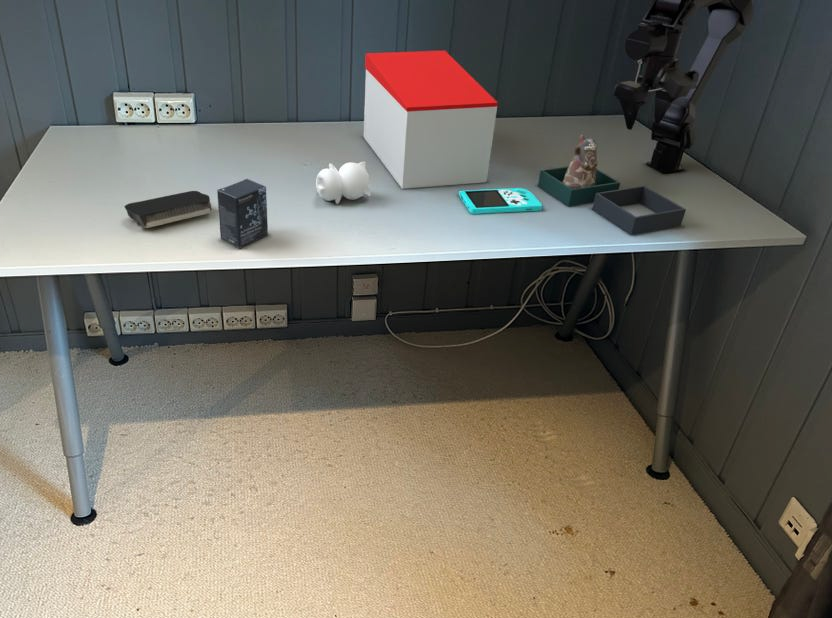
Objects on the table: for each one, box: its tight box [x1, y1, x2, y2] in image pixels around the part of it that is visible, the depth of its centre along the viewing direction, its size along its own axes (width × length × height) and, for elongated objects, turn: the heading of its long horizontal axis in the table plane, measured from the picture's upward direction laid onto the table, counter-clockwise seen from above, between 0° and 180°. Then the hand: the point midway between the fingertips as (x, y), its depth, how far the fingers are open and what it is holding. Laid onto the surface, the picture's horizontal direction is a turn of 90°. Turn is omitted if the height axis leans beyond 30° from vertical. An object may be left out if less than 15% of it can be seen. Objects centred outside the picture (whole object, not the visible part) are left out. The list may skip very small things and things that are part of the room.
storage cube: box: [363, 50, 499, 190], centre depth 175 cm, size 21×35×21 cm, turn 14°
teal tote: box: [537, 165, 621, 207], centre depth 165 cm, size 13×12×4 cm
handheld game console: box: [458, 187, 543, 215], centre depth 160 cm, size 10×16×1 cm, turn 99°
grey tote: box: [591, 185, 687, 236], centre depth 155 cm, size 13×13×4 cm
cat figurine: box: [315, 160, 372, 205], centre depth 160 cm, size 9×11×12 cm
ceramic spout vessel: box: [563, 134, 599, 189], centre depth 163 cm, size 7×7×12 cm
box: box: [216, 178, 269, 249], centre depth 141 cm, size 8×6×11 cm
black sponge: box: [123, 190, 213, 229], centre depth 150 cm, size 16×8×4 cm, turn 123°
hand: (643, 126), depth 165 cm, fingers open, 9 cm apart
